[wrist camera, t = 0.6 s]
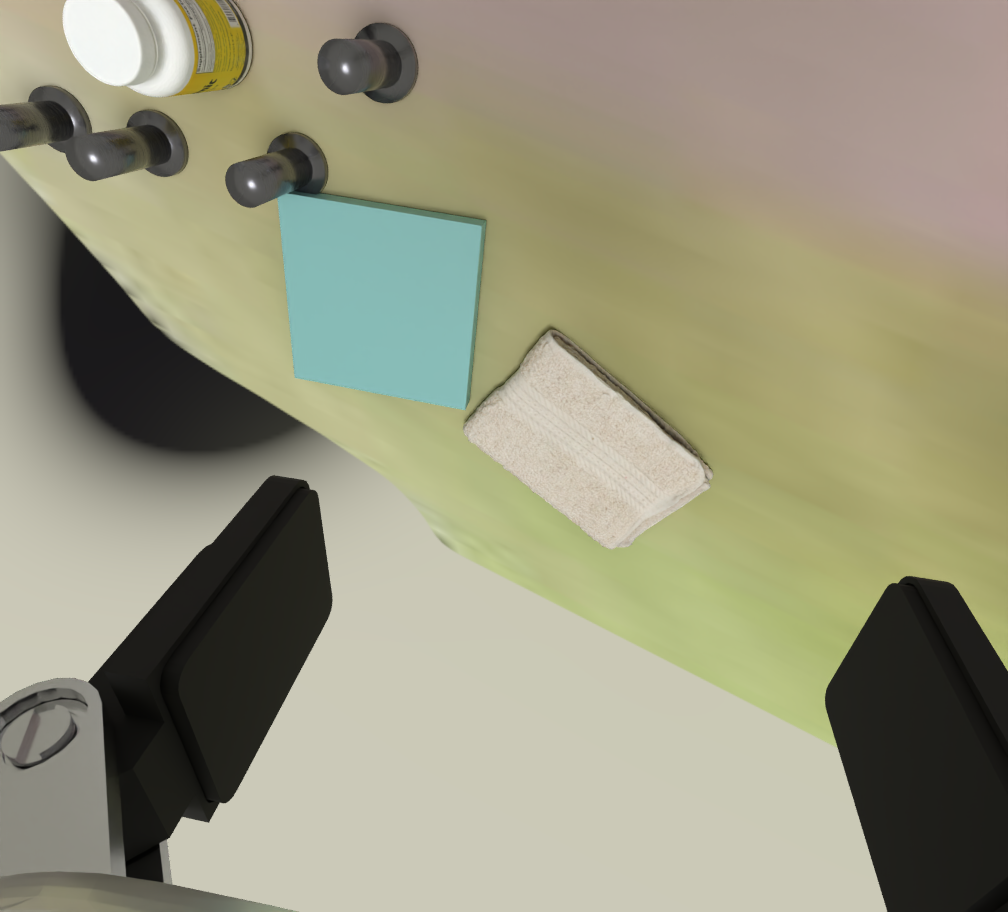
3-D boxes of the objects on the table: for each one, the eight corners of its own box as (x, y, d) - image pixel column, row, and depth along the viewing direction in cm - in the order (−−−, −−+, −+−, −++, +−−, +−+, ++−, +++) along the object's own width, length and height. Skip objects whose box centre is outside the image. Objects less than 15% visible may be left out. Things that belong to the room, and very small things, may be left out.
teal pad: (287, 187, 41) (276, 191, 40) (486, 220, 40) (481, 225, 39) (303, 369, 50) (294, 377, 48) (469, 400, 48) (465, 410, 47)
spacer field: (-50, -182, 33) (-191, -230, 28) (423, -125, 31) (376, -163, 26) (48, 155, 43) (-41, 171, 37) (413, 216, 41) (378, 243, 35)
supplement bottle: (179, 81, 39) (62, 90, 31) (165, -25, 36) (31, -46, 28) (259, 97, 39) (162, 111, 31) (252, -8, 36) (142, -24, 28)
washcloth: (617, 540, 55) (616, 564, 52) (459, 421, 50) (450, 441, 48) (722, 463, 48) (727, 486, 46) (552, 319, 44) (547, 336, 42)
